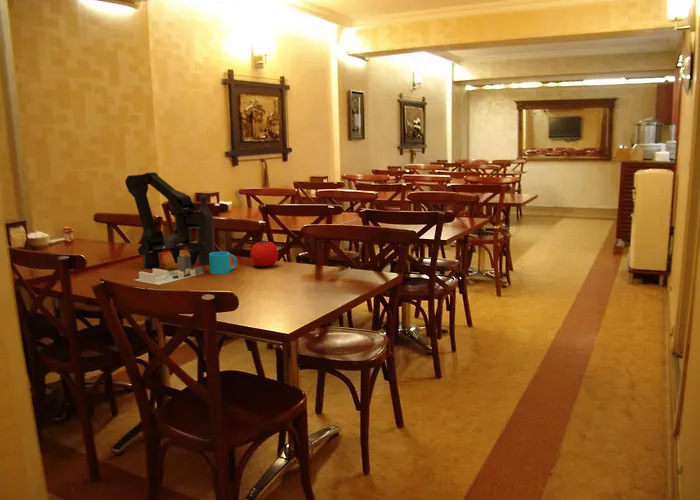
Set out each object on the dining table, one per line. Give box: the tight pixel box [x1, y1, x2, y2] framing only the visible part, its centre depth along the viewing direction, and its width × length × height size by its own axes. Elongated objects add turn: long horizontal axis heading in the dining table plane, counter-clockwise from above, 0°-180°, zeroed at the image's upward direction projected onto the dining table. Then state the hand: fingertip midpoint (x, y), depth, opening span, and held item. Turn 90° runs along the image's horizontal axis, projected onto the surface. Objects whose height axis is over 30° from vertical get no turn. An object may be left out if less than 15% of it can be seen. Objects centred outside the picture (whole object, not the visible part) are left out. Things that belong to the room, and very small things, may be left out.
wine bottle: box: [196, 194, 216, 266], centre depth 254 cm, size 7×7×30 cm
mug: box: [209, 251, 238, 275], centre depth 241 cm, size 12×8×8 cm
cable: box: [173, 273, 190, 279], centre depth 232 cm, size 2×10×1 cm, turn 148°
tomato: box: [249, 240, 279, 267], centre depth 253 cm, size 12×12×11 cm
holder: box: [138, 268, 169, 282], centre depth 227 cm, size 9×7×3 cm
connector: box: [177, 253, 193, 272], centre depth 241 cm, size 4×4×7 cm
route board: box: [134, 269, 204, 286], centre depth 232 cm, size 14×23×1 cm, turn 148°
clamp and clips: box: [175, 266, 204, 280], centre depth 233 cm, size 4×12×2 cm, turn 148°
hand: (184, 264), depth 241 cm, fingers open, 9 cm apart
